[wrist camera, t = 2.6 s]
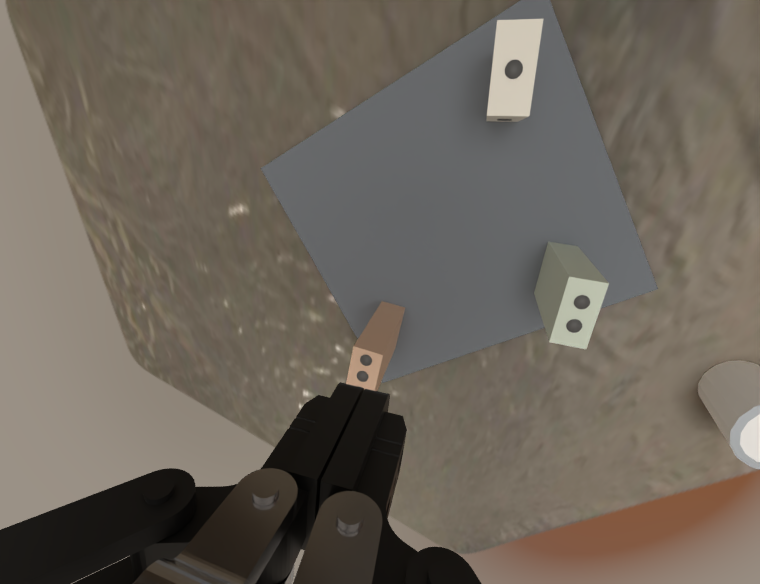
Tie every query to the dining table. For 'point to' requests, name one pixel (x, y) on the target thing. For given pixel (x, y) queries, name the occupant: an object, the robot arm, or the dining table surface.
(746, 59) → the dining table surface
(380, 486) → the robot arm
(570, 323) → the tile
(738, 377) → the white cup
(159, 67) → the dining table surface
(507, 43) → the tile
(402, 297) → the slate mat
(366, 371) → the peach dotted block
